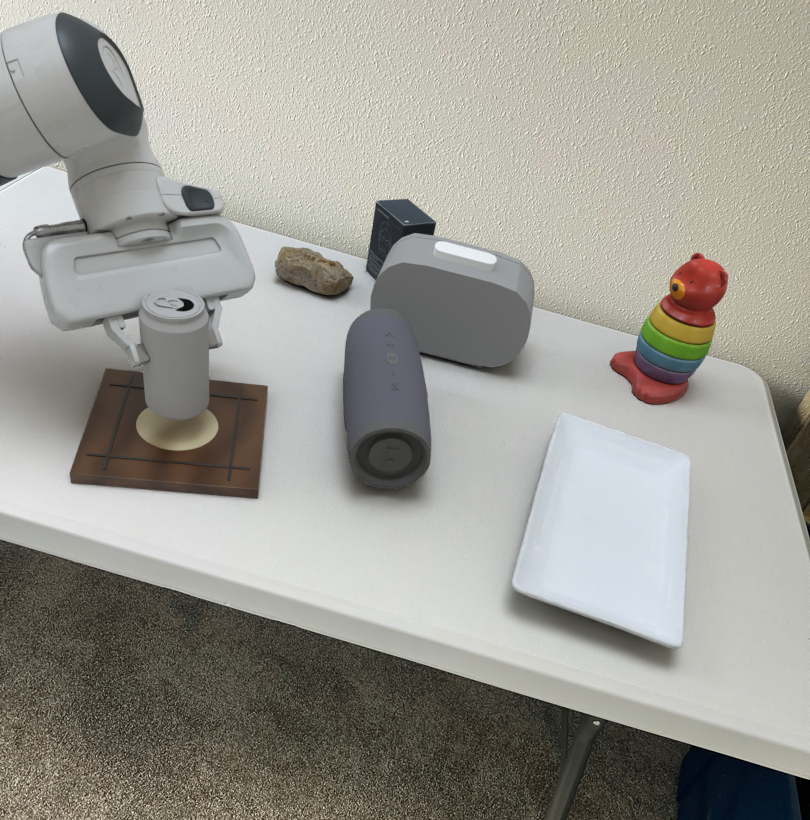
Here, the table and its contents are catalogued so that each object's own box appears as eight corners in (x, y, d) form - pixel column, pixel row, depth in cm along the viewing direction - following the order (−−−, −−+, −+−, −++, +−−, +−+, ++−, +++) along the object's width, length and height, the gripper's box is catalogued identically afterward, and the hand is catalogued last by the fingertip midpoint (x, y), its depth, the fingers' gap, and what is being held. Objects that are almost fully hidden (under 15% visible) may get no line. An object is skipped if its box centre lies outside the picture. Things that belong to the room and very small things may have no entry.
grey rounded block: (518, 344, 110) (547, 254, 101) (513, 380, 104) (544, 287, 94) (377, 308, 110) (393, 214, 101) (363, 341, 104) (379, 245, 94)
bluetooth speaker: (425, 502, 84) (446, 428, 77) (339, 494, 82) (351, 418, 75) (410, 379, 99) (426, 309, 92) (337, 371, 98) (348, 298, 91)
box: (423, 291, 116) (437, 221, 109) (390, 295, 114) (403, 224, 106) (396, 265, 120) (408, 197, 113) (364, 269, 118) (375, 199, 110)
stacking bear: (604, 359, 112) (654, 240, 99) (662, 358, 115) (718, 242, 103) (641, 405, 105) (700, 283, 93) (702, 402, 108) (767, 284, 96)
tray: (681, 474, 96) (694, 452, 93) (669, 670, 73) (685, 648, 71) (550, 430, 97) (559, 408, 95) (498, 609, 75) (508, 586, 72)
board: (70, 482, 76) (68, 472, 75) (106, 376, 89) (105, 366, 88) (257, 498, 79) (258, 489, 78) (267, 394, 92) (267, 384, 91)
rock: (338, 305, 109) (342, 276, 106) (264, 281, 110) (266, 252, 107) (355, 282, 114) (360, 254, 111) (284, 259, 115) (287, 231, 112)
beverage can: (206, 427, 80) (205, 323, 71) (140, 421, 79) (132, 315, 70) (212, 390, 84) (212, 288, 76) (150, 384, 83) (143, 280, 75)
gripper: (19, 214, 66) (79, 373, 69) (235, 190, 77) (280, 327, 79) (10, 240, 72) (66, 387, 74) (213, 214, 82) (256, 343, 85)
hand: (178, 356), depth 77 cm, fingers closed on beverage can, 6 cm apart
